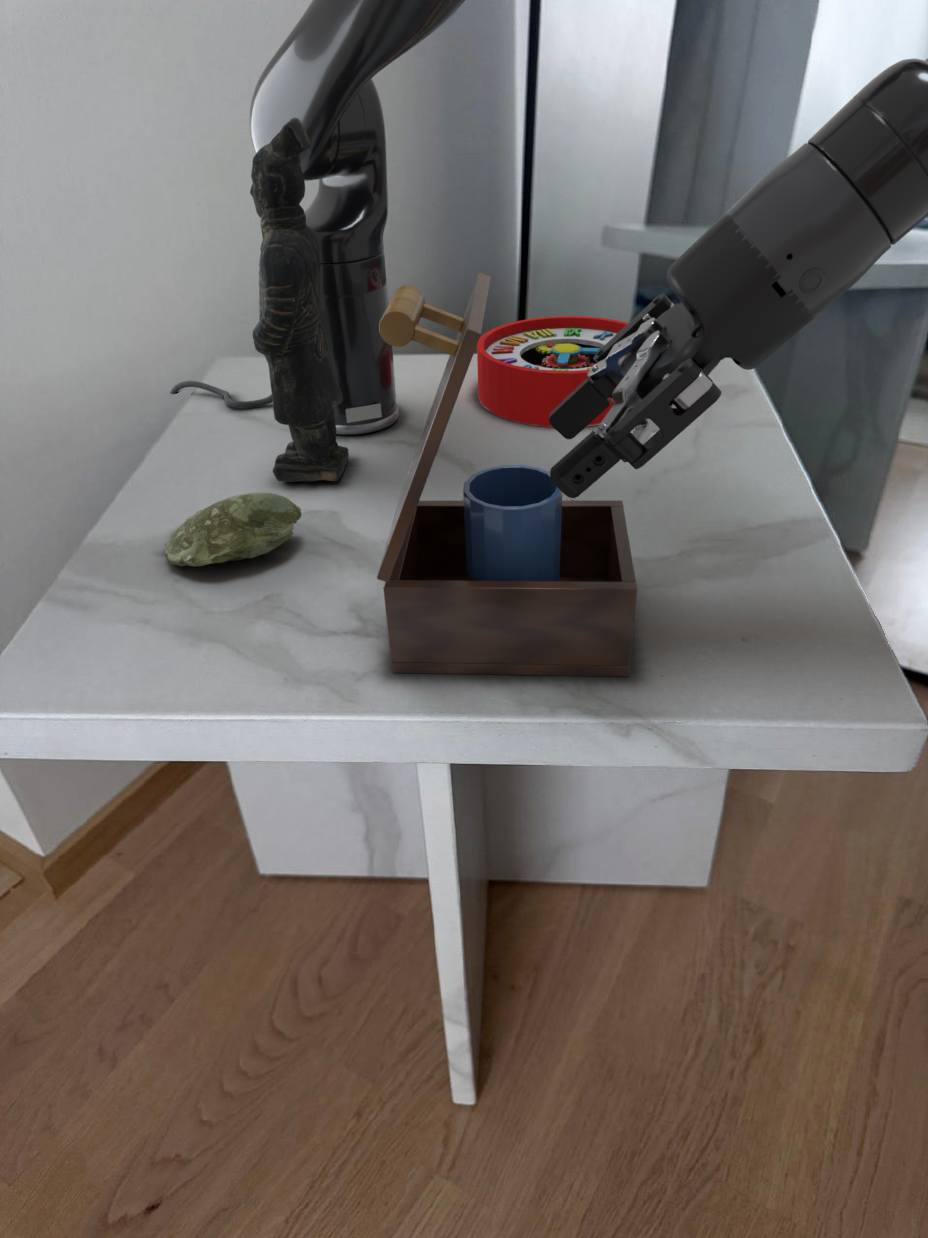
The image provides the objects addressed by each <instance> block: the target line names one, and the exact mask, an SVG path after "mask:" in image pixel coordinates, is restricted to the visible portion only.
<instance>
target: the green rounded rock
mask: <svg viewBox="0 0 928 1238" xmlns="http://www.w3.org/2000/svg"><path fill="white" fill-rule="evenodd" d="M301 517H302V509H301V507H300V506H298V505H297V504H295V503H294V502H293V501H292V500H291V499H289V498H287V497H285V496H283V495H280V494H277V493H274V492H249V493H246V494H237V495H234V496H231V497H227V498H225V499H221V500H219V501H217V502H215V503H212V504H211V505H209V506H207V507H205V508H203V509H200V510H198V511H197V512H196V513H194V514H193V515H191V516H189V517H188V518H187V519H186V520H185V521H184V522H183V523H182V524H180V526H179V527H177V529H175V531H174V532H172V534H171V535H170V537H169V539H168V540H167V541H165V543H164V548H165V549H164V555H165V556H166V557H167V559H168V562H169V563H170V565H174V566H179V567H185V566H188V567H203V566H207V565H211V564H218V563H219V564H220V563H221V564H222V563H226V562H228V561H229V562H230V561H231V562H235V561H241V560H246V559H253V558H256V557H259V556H264V555H268V554H269V553H270V552H272V551H273V550H276V549H277V548H278V547H279V546H281V545H282V544H284V543H285V542H287V541H288V540H290V539H291V538H292V536H293V534H294V532H293V530H294V524H297V523H298V521H300V519H301Z"/></svg>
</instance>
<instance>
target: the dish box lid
mask: <svg viewBox="0 0 928 1238" xmlns="http://www.w3.org/2000/svg"><path fill="white" fill-rule="evenodd" d="M491 278H492V276H490V275H488V274H486V273H482V272H479V273H478V275H477V278H476V281H475V283H474V286H473V289H472V292H471V295H470V297H469V300H468V302H467V306H466V309H465V312H464V314H463V317H462V316H459V315H456V314H454V313H451V312H449V311H446V310H444V309H441V308H438V307H436V306H433V305H431V304H428V303H426V300H425V296H424V293H422V291H421V290H420V289H419V288H418V287H416V286H414V285H410V284H405V285H401V286H400V287H399V288H397V289H396V290H395V292H393V295H392V297H391V299H390V301H389V302H388V303H389V305H388V307H387V309H386V311H385V313H384V314H383V316H382V318H381V320H380V324H379V332H380V335H381V337H382V338H383V340H384V341H385V342H386V343H388V344H389V345H391V346H392V347H394V348H395V347H396V348H397V347H398V348H401V347H405V346H406V345H408V344H410V343H411V341H412V342H414V343H417V344H420V345H422V346H425V347H428V348H431V349H434V350H436V351H439V352H440V353H443V354H446V355H449V356H448V358H447V362H446V365H445V368H444V371H443V374H442V376H441V379H440V382H439V384H438V388H437V390H436V392H435V396H434V399H433V402H432V404H431V407H430V410H429V413H428V415H427V418H426V421H425V424H424V427H423V430H422V433H421V436H420V438H419V441H418V444H417V446H416V449H415V452H414V455H413V458H412V460H411V464H410V466H409V469H408V472H407V475H406V478H405V480H404V483H403V485H402V489H401V492H400V495H399V499H398V502H397V506H396V509H395V512H394V516H393V519H392V522H391V526H390V530H389V533H388V538H387V541H386V544H385V548H384V552H383V555H382V558H381V562H380V565H379V569H378V572H377V576H376V579H377V580H379V581H382V582H384V583H385V582H389V580H390V578H391V575H392V572H393V569H394V567H395V564H396V561H397V559H398V556H399V553H400V551H401V548H402V545H403V543H404V540H405V537H406V534H407V532H408V529H409V526H410V524H411V521H412V518H413V516H414V513H415V510H416V507H417V505H418V502H419V501H420V499H421V497H422V494H423V491H424V488H425V487H426V484H427V480H428V477H429V475H430V472H431V470H432V467H433V465H434V462H435V459H436V457H437V454H438V451H439V448H440V445H441V442H442V440H443V437H444V434H445V432H446V430H447V427H448V424H449V421H450V418H451V415H452V413H453V411H454V408H455V405H456V402H457V399H458V397H459V394H460V392H461V389H462V386H463V383H464V381H465V378H466V375H467V373H468V370H469V368H470V364H471V362H472V359H473V356H474V354H475V351H476V350H477V343H478V340H479V339H480V338H481V336H482V328H483V324H484V317H485V313H486V308H487V302H488V301H487V300H488V297H489V290H490V285H491ZM421 318H422V319H425V320H428V321H430V322H432V323H435V324H438V325H441V326H443V327H445V328H449V329H451V330H453V331H456V332H457V334H456V336H455V339H453V338H450V337H448V336H445V335H443V334H440V333H437V332H435V331H432V330H430V329H427V328H426V327H425V328H424V327H422V326H419V323H420V321H421Z"/></svg>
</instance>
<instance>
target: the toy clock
mask: <svg viewBox="0 0 928 1238" xmlns="http://www.w3.org/2000/svg"><path fill="white" fill-rule="evenodd" d="M628 323H629V322H626V321H621V320H617V319H611V318H606V317H596V316H584V315H583V316H582V315H557V316H556V315H555V316H544V317H535V318H534V317H533V318H528V319H522V320H517V321H513V322H507V323H505V324H502V325H500V326H497V327H494V328H492V329H490V330H488V331H487V332H484V333H483V335H482V334H481V336H480V338H479V340H478V343H477V346H476V361H477V362H476V363H477V366H476V367H477V397H478V401H479V403H480V405H482V407H483V408H485V410H487V411H488V412H490V413H491V414H494V415H495V416H497V417H500V418H502V419H505V420H508V421H511V422H514V423H519V424H523V425H530V426H536V427H546V428H554V427H553V426H552V425H551V424H550V421H549V415H550V413H551V412H552V411H553V410H554V409H555V408H556V407H557V406H558V405H559V404H560V403H561V402H562V401H563V400H564V399H565V398H566V397H568V396H569V395H570V394H571V393H572V392H573V391H574V390H575V389H576V388H577V387H578V386H579V385H580V384H581V383H582V382H584V381H585V380H586V379H587V378H588V379H589V380H590V378H589V377H588V376H587V374H588V372H589V371H590V368H591V367H592V366H593V365H594V364H596V363H597V362H596V361H595V360H594V359H593V358H594V356H595V355H596V352H597V351H598V350H599V349H600V348H602V347H603V346H604V345H605V344H607V343H608V342H609V341H610V340H611V339H612V338H613V337H614V336H615V335H616V334H617V333H618V332H620V331H621V330H622V329H623V328H624V327H625V326H626V325H627V324H628ZM629 354H631V353H629ZM608 399H609V400H610V404H611V405H610V406H609V407H607V408H606V409H605V410H604V411H603V412H602V413H601V414H600V415H599V416H597V417H596V418H595V419H594V420H593V421H592V422H591V423H590V424H589V425H588V426H586V427H585V428H587V427H593V426H594V427H595V426H598V425H599V424H600V423H601V422H602V420H603V419H604V418H605V416H606V415H607V413H608V412H609V411H610V409H611V408H612V406H613V401H612V400H611V399H610V398H609V397H608ZM625 415H626V414H625Z"/></svg>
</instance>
